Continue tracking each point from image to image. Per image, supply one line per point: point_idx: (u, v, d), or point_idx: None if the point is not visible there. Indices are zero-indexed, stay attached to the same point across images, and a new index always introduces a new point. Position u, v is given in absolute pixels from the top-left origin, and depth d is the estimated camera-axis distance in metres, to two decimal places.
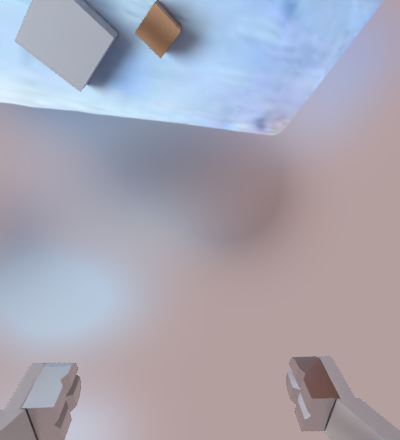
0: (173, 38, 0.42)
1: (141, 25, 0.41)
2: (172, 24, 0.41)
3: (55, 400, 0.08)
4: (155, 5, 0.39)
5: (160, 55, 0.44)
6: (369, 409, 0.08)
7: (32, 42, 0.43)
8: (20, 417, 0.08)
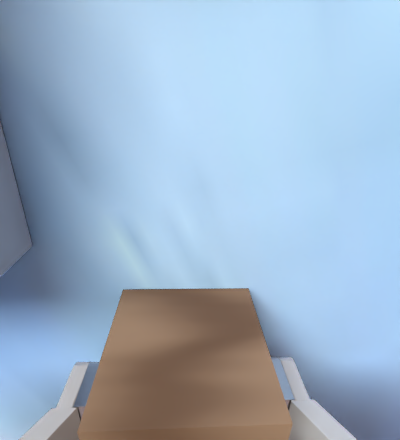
0: None
1: (142, 433, 0.06)
2: None
3: None
4: (283, 431, 0.07)
5: None
6: (322, 410, 0.08)
7: None
8: (72, 415, 0.08)
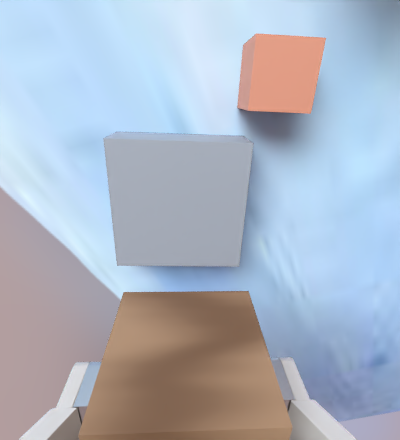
0: None
1: (143, 437, 0.06)
2: None
3: None
4: (283, 434, 0.07)
5: None
6: (322, 410, 0.08)
7: (130, 168, 0.21)
8: (72, 415, 0.08)
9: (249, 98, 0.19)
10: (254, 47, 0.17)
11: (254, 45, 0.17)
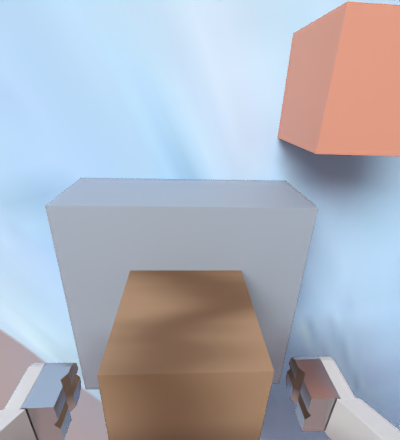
0: None
1: (150, 378, 0.08)
2: None
3: (55, 400, 0.08)
4: (266, 377, 0.08)
5: None
6: (369, 408, 0.09)
7: (97, 252, 0.12)
8: (20, 417, 0.08)
9: (320, 131, 0.10)
10: (339, 31, 0.09)
11: (339, 27, 0.09)
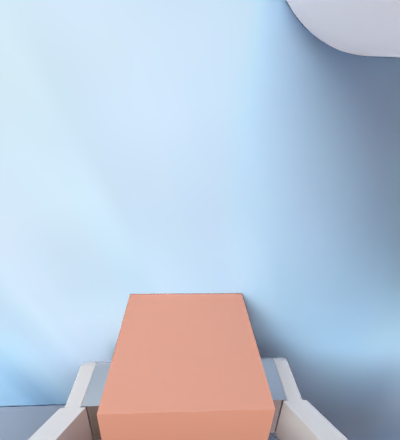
0: None
1: None
2: None
3: None
4: None
5: None
6: (314, 411, 0.08)
7: None
8: (81, 415, 0.08)
9: None
10: None
11: None
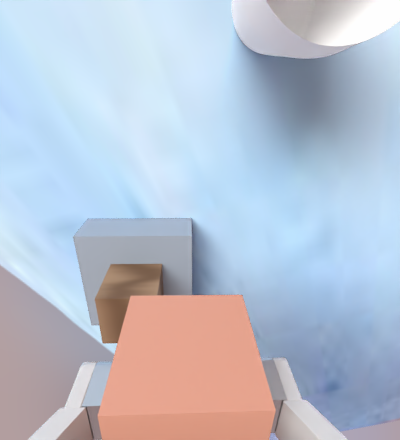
0: None
1: (113, 300, 0.22)
2: None
3: None
4: None
5: (105, 341, 0.24)
6: (314, 410, 0.08)
7: (95, 256, 0.26)
8: (81, 415, 0.08)
9: None
10: None
11: None
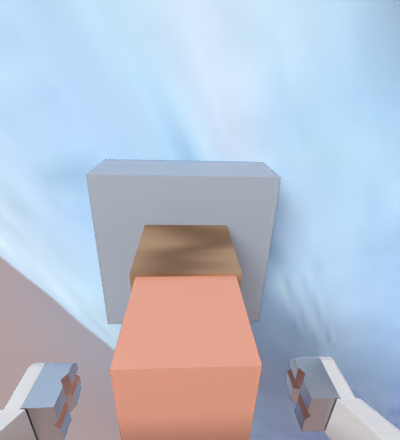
0: None
1: (163, 276, 0.12)
2: None
3: (55, 400, 0.08)
4: (237, 278, 0.12)
5: None
6: (369, 408, 0.09)
7: (121, 210, 0.16)
8: (20, 417, 0.08)
9: None
10: None
11: None
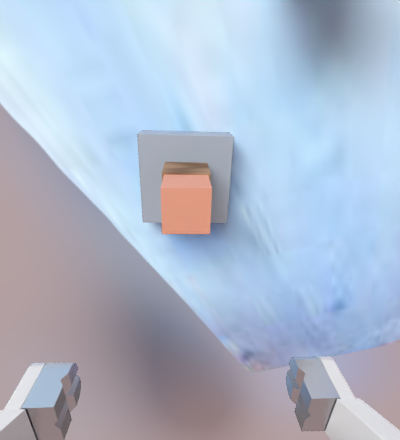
0: None
1: (176, 174, 0.28)
2: None
3: (55, 400, 0.08)
4: None
5: None
6: (369, 408, 0.09)
7: (153, 153, 0.32)
8: (20, 417, 0.08)
9: (162, 226, 0.25)
10: (161, 195, 0.24)
11: (161, 193, 0.24)
